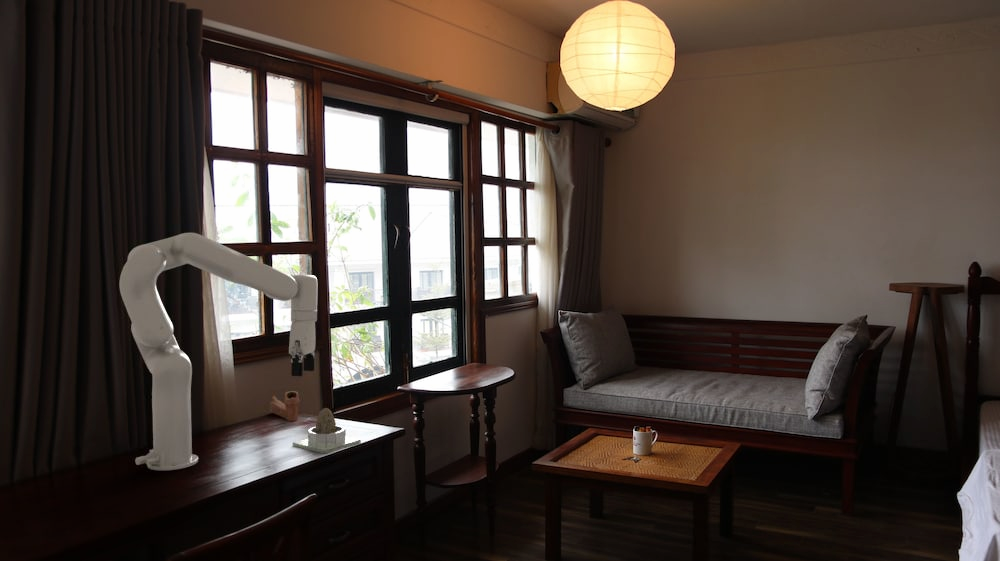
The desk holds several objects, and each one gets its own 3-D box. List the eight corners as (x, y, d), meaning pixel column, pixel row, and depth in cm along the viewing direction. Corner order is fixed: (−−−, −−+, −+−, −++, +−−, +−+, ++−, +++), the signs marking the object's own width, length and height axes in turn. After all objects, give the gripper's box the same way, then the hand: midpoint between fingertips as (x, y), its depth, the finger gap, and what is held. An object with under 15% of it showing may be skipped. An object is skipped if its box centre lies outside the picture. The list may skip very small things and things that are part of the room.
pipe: (288, 423, 239) (288, 394, 239) (266, 414, 253) (265, 386, 253) (302, 421, 243) (302, 392, 242) (279, 411, 256) (279, 384, 256)
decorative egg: (330, 444, 210) (330, 411, 210) (312, 443, 212) (311, 409, 211) (339, 439, 216) (339, 406, 216) (321, 438, 217) (321, 405, 217)
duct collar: (325, 453, 204) (325, 438, 204) (292, 446, 212) (292, 431, 212) (360, 442, 216) (360, 427, 216) (328, 435, 224) (328, 421, 224)
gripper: (302, 313, 222) (301, 368, 222) (280, 318, 205) (279, 377, 205) (325, 314, 221) (324, 369, 222) (305, 319, 204) (304, 378, 205)
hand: (303, 373), depth 214 cm, fingers open, 9 cm apart
